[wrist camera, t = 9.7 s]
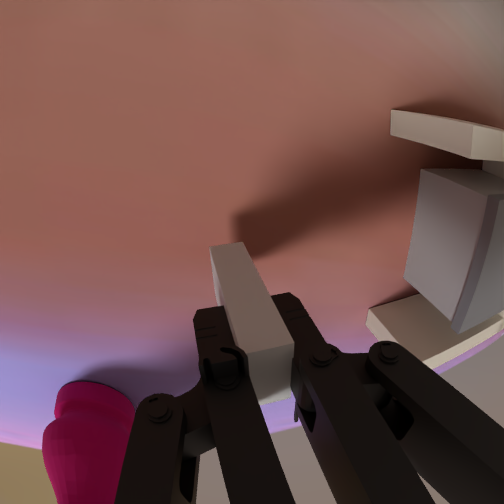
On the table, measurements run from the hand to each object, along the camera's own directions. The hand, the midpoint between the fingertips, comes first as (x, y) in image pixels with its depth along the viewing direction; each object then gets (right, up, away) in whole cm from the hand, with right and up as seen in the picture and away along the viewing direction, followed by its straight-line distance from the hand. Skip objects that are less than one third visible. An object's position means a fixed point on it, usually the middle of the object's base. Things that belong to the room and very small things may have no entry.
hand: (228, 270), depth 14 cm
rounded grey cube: (+15, +3, +5) cm, 16 cm away
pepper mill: (-11, -11, +5) cm, 16 cm away
